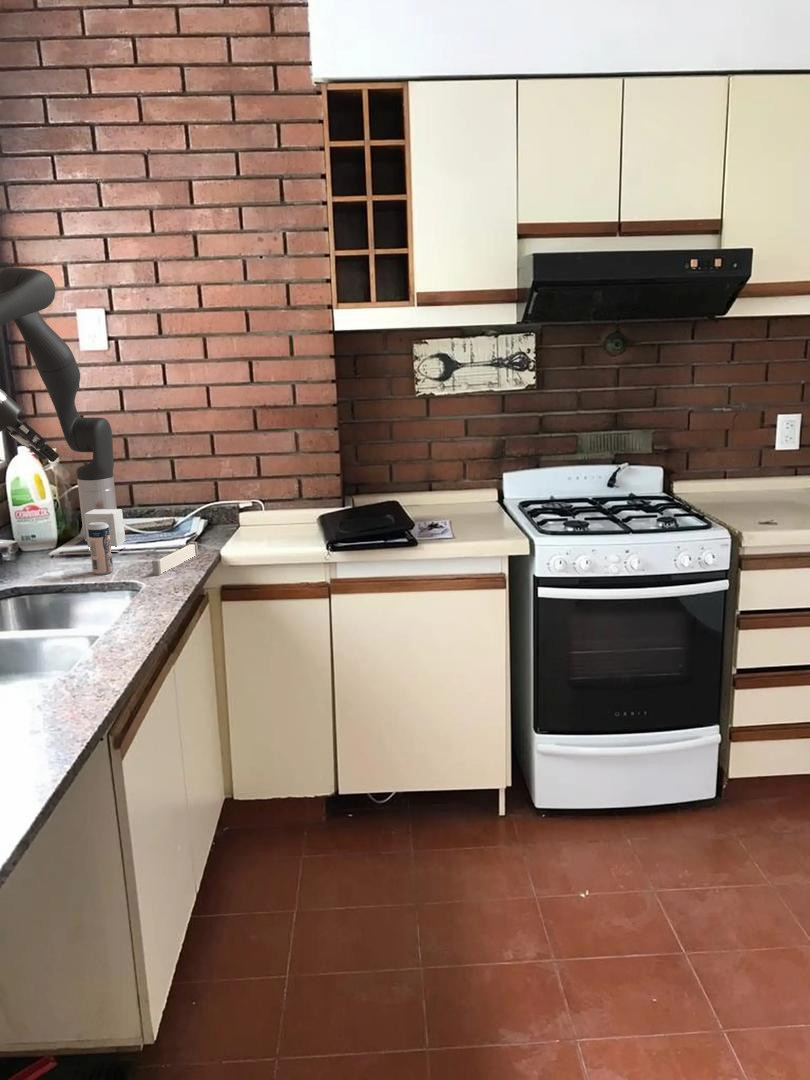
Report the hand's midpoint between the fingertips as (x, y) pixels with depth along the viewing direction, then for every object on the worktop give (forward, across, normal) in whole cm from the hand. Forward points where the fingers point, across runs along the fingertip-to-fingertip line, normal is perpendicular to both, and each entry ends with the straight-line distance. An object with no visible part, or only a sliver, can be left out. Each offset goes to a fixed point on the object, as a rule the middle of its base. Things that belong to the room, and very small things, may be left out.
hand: (51, 458), depth 190 cm
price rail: (+38, -4, -1) cm, 38 cm away
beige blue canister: (+27, +1, +12) cm, 29 cm away
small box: (+31, +21, +6) cm, 38 cm away
